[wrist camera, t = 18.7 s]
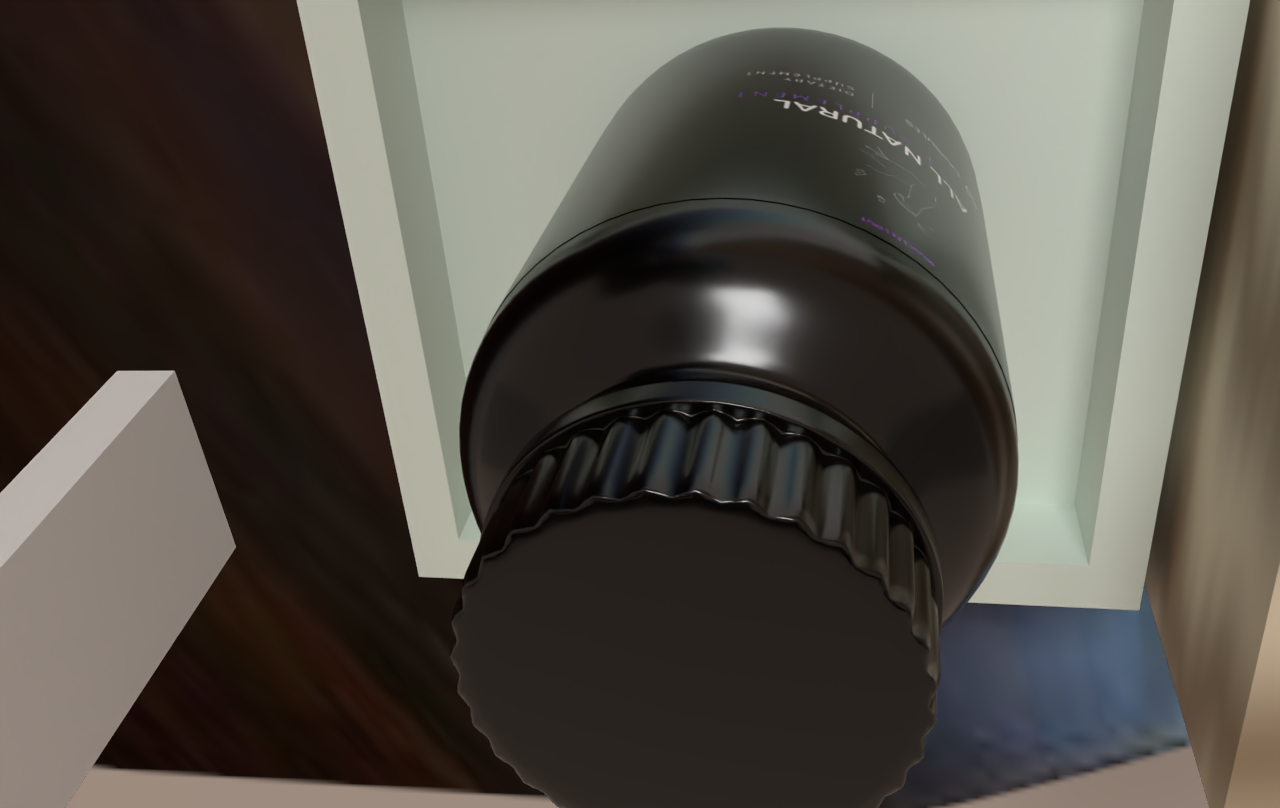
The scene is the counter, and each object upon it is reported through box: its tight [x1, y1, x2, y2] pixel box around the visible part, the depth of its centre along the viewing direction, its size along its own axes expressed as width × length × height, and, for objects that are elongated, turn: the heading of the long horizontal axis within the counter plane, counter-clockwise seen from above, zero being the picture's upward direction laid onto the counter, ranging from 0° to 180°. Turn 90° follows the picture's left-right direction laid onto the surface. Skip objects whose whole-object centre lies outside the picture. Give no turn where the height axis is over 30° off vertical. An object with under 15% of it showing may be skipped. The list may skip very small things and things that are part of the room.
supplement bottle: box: [450, 28, 1019, 808], centre depth 17 cm, size 7×7×12 cm
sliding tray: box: [297, 0, 1250, 610], centre depth 21 cm, size 14×14×2 cm
